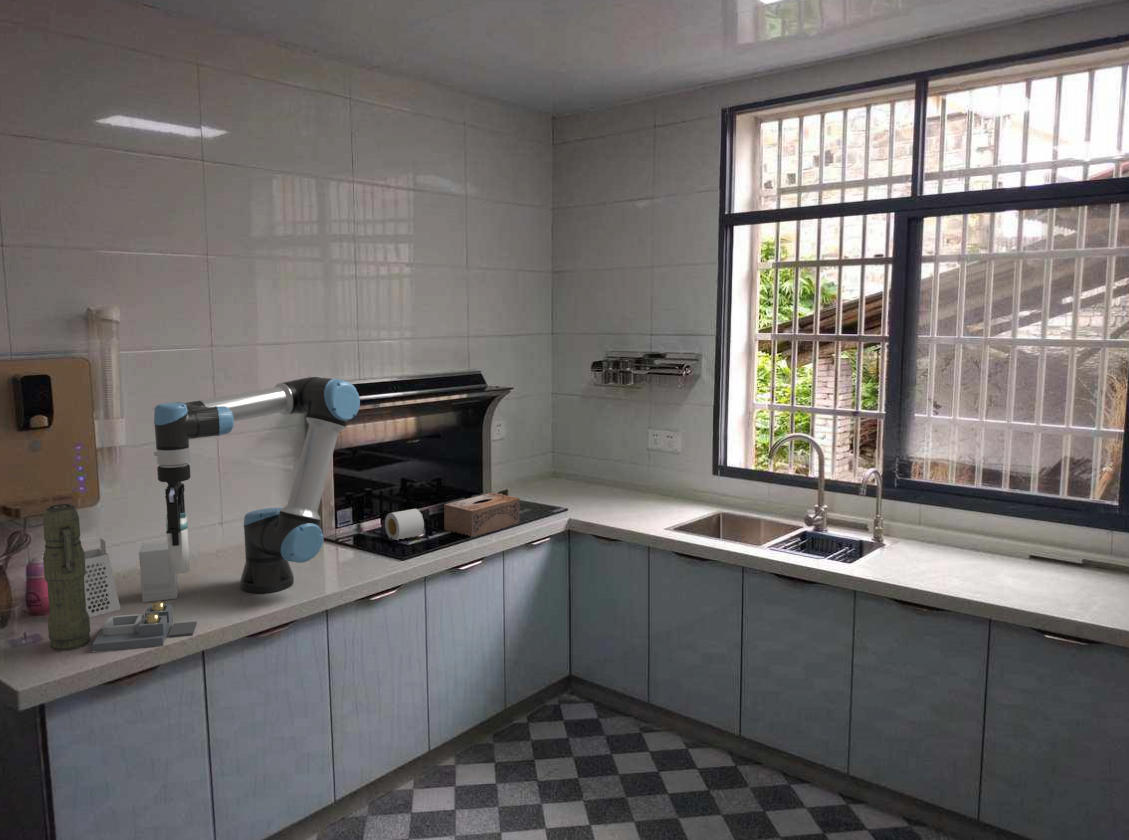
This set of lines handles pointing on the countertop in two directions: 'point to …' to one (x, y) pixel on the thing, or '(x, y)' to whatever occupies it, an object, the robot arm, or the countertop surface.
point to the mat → (182, 629)
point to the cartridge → (182, 563)
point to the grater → (99, 580)
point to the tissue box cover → (481, 514)
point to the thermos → (65, 579)
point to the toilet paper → (404, 524)
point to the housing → (134, 631)
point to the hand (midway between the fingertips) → (178, 553)
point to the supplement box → (156, 573)
